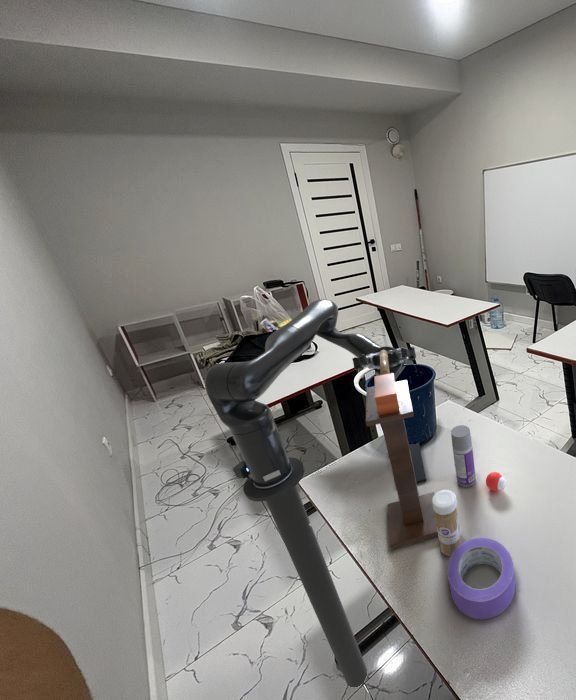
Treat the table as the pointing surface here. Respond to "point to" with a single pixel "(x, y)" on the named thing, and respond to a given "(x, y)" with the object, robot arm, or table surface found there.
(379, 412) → the copper block with handle
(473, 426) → the table surface
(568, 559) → the table surface
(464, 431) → the container
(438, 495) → the sprinkles bottle
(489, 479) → the molecule
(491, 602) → the tape roll
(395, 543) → the wooden pedestal stand
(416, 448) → the drying mat
